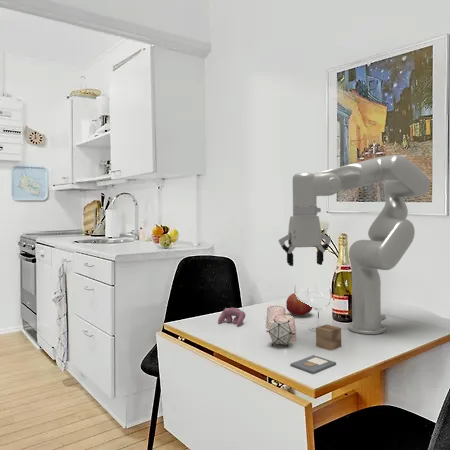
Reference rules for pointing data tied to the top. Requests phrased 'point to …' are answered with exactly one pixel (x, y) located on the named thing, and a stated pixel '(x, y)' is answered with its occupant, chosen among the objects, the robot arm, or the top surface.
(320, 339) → the walnut block
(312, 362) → the card
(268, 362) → the top surface
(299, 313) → the fruit
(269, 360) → the top surface
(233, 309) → the video game controller
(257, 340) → the top surface
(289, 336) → the game die
